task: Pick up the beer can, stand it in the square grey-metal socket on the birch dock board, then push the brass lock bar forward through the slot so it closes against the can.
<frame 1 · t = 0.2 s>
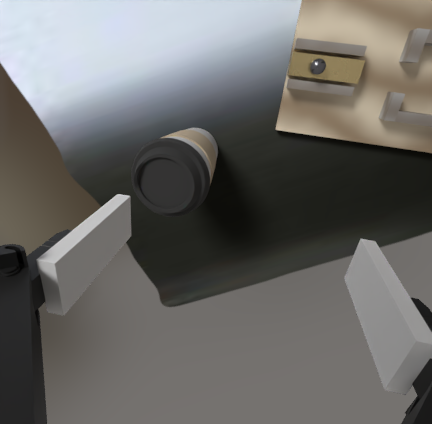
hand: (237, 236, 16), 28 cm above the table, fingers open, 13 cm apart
dock: (386, 76, 35), on the table
coffee cup: (196, 150, 43), on the table
lock bar: (324, 67, 33), point 3 cm above the table, slide at 0.0 cm
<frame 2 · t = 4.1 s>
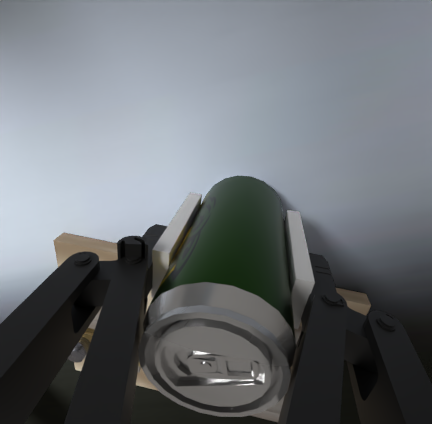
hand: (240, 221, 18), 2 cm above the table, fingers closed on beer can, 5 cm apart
dock: (197, 332, 26), on the table
beer can: (243, 208, 20), on the table, touching gripper
lock bar: (96, 340, 24), point 3 cm above the table, slide at 0.0 cm
when the fingers open (4 cm above the table, at t = 8.9 s): beer can drops 1 cm, resting on dock.
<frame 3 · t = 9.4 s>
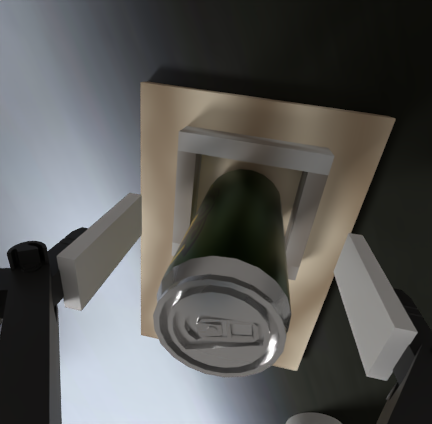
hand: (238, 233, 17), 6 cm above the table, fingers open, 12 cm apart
dock: (235, 247, 24), on the table
beer can: (244, 200, 21), point 1 cm above the table, touching dock
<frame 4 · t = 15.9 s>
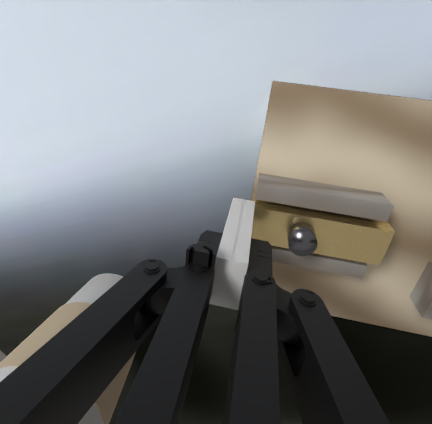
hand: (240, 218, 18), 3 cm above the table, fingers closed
dock: (426, 231, 19), on the table
coffee cup: (118, 300, 28), on the table
lock bar: (316, 232, 18), point 3 cm above the table, slide at 0.3 cm
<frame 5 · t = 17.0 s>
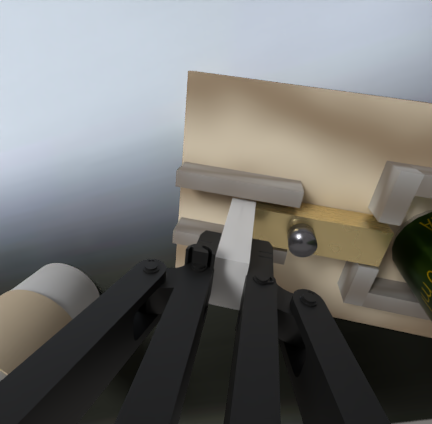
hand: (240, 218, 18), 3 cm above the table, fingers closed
dock: (350, 219, 20), on the table
coffee cup: (69, 290, 28), on the table
beer can: (431, 240, 19), point 1 cm above the table, touching dock
lock bar: (316, 233, 18), point 3 cm above the table, slide at 5.2 cm, touching gripper
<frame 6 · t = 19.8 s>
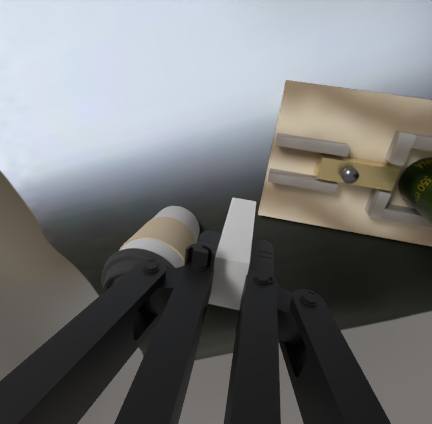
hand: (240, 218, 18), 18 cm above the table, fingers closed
dock: (373, 168, 33), on the table
coffee cup: (177, 226, 42), on the table
beer can: (421, 178, 32), point 1 cm above the table, touching dock
lock bar: (356, 172, 31), point 3 cm above the table, slide at 5.3 cm
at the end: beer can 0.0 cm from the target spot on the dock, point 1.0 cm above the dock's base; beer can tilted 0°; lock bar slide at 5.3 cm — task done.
